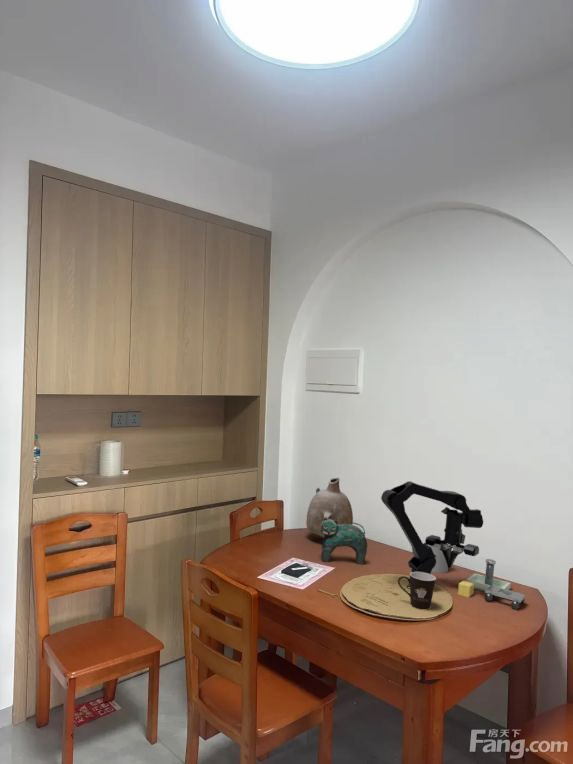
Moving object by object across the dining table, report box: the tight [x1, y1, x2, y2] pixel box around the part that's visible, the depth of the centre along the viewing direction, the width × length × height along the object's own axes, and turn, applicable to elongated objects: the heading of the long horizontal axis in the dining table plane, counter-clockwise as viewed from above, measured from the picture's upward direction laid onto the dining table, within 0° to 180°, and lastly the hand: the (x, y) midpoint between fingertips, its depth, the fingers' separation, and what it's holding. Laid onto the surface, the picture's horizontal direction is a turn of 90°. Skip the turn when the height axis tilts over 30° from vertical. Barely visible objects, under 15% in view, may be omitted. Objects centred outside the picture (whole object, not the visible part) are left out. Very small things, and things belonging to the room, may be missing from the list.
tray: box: [465, 573, 512, 594], centre depth 210 cm, size 11×14×2 cm
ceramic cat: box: [320, 513, 368, 565], centre depth 226 cm, size 20×6×20 cm, turn 92°
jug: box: [305, 477, 354, 540], centre depth 256 cm, size 24×21×30 cm
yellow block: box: [457, 580, 475, 598], centre depth 200 cm, size 5×4×4 cm
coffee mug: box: [397, 571, 437, 610], centre depth 186 cm, size 12×9×10 cm
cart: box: [484, 585, 526, 611], centre depth 196 cm, size 12×9×4 cm
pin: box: [484, 558, 496, 585], centre depth 210 cm, size 4×4×10 cm
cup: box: [428, 544, 449, 574], centre depth 227 cm, size 8×8×10 cm
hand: (449, 568), depth 204 cm, fingers closed
